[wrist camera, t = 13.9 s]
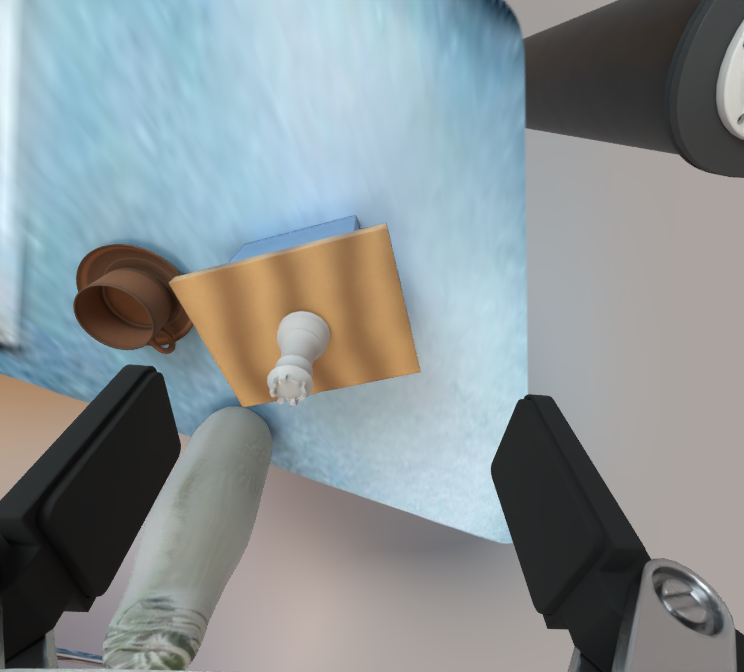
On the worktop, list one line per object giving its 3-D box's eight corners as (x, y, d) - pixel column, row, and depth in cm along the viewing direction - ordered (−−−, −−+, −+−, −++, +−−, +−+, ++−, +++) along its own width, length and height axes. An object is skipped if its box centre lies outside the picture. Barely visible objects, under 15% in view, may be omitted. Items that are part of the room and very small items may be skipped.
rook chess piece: (308, 360, 34) (293, 425, 27) (268, 331, 32) (241, 392, 25) (341, 330, 32) (333, 392, 25) (301, 298, 30) (281, 354, 24)
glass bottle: (292, 433, 53) (230, 697, 30) (231, 450, 55) (128, 711, 32) (256, 383, 48) (148, 654, 25) (191, 405, 50) (33, 674, 27)
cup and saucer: (221, 285, 41) (199, 312, 36) (174, 353, 46) (149, 386, 40) (111, 214, 37) (68, 233, 31) (73, 297, 41) (30, 325, 36)
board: (386, 222, 28) (387, 227, 27) (419, 364, 36) (420, 372, 35) (174, 276, 31) (168, 282, 30) (246, 399, 38) (243, 407, 37)
